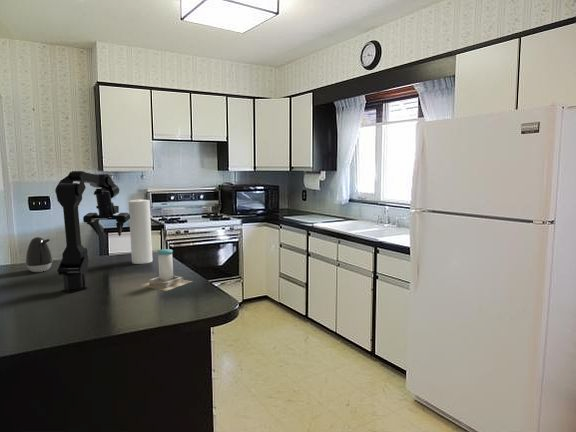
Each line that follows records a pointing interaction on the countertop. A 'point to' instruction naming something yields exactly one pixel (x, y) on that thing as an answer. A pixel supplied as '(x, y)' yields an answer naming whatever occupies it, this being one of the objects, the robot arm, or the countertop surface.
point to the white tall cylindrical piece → (165, 264)
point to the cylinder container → (140, 231)
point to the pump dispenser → (38, 255)
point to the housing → (166, 283)
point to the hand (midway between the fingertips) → (109, 235)
